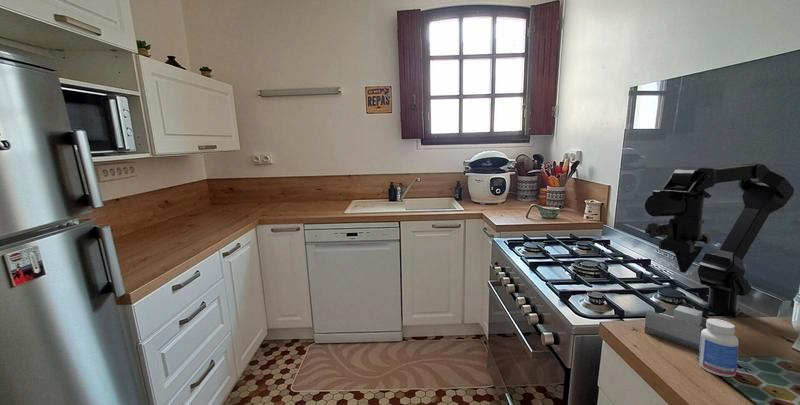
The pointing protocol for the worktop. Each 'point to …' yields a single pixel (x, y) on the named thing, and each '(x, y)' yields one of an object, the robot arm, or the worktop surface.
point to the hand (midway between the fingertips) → (683, 272)
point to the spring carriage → (687, 315)
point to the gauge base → (674, 328)
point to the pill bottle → (719, 348)
